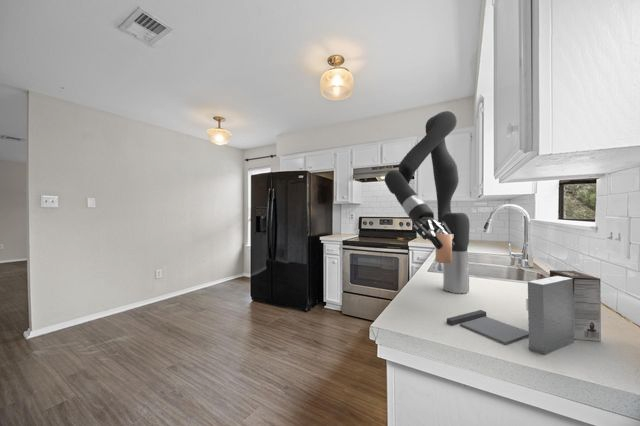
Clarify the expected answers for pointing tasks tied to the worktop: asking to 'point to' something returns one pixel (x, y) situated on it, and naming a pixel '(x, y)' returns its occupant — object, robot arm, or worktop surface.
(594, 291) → the coffee box
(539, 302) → the breaker panel
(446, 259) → the peach domed cylinder
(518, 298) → the worktop surface
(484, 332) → the charcoal mat
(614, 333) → the worktop surface
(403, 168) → the robot arm
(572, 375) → the worktop surface
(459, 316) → the dark grey slender bar
